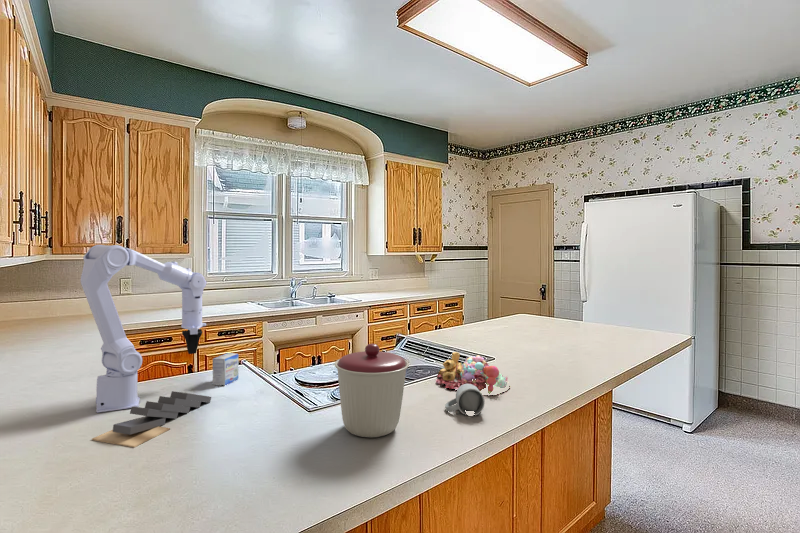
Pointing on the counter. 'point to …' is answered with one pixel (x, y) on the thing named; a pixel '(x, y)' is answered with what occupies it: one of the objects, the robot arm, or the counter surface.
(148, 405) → the domino
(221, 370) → the medicine box
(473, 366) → the candy landscape model
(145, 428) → the domino
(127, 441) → the cork pad
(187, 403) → the domino
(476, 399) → the ceramic mug
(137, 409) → the domino
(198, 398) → the domino
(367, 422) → the canister
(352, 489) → the counter surface
